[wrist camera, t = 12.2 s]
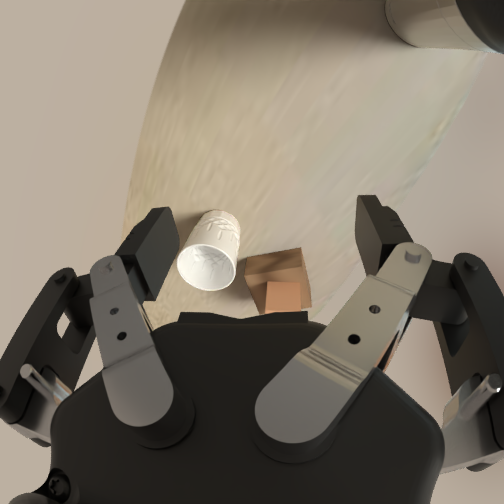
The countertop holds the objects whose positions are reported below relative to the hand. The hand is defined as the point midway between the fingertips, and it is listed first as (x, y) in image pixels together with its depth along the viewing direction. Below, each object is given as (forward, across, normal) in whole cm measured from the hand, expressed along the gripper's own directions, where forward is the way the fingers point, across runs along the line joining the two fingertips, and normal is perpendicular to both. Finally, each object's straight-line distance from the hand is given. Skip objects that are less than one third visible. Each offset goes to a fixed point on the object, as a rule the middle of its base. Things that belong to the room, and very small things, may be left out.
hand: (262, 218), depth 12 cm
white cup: (+28, +10, +17) cm, 35 cm away
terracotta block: (+23, +1, +27) cm, 36 cm away
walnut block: (+28, +1, +27) cm, 39 cm away
